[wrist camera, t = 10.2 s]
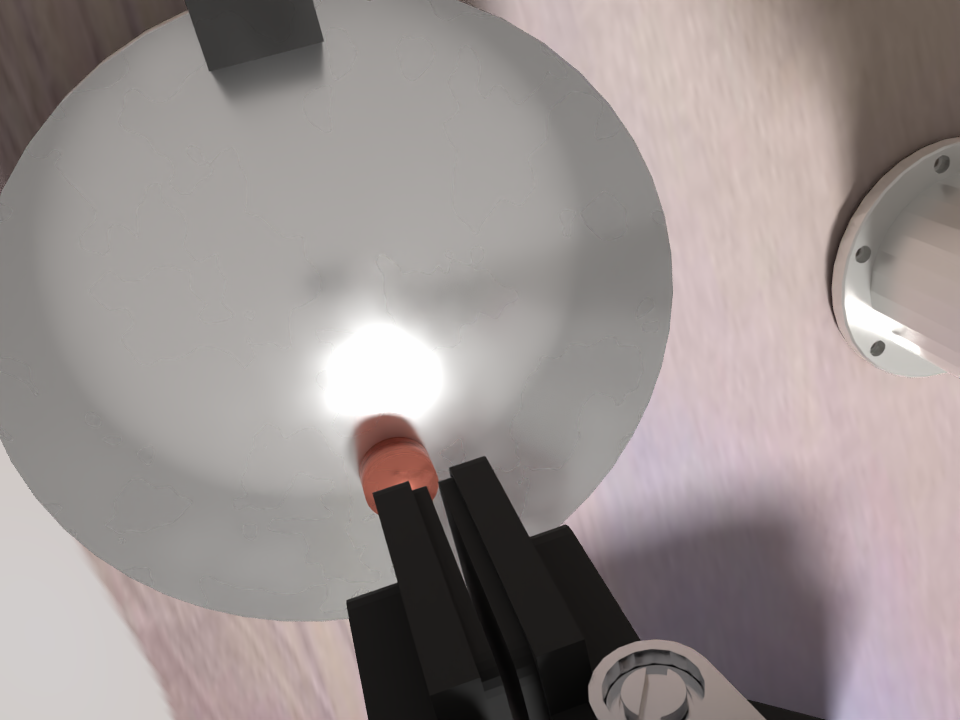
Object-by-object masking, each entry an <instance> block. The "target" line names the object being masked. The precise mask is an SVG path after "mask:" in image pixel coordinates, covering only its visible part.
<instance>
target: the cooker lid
mask: <svg viewBox="0 0 960 720" xmlns="http://www.w3.org/2000/svg"><path fill="white" fill-rule="evenodd" d="M185 3H186V6H187V9H188V10H186V11H184V12H182V13H180V14H178V15H176V16H174V17H172V18H170V19H168V20H166V21H164V22H162V23H160V24H158V25H156V26H154V27H152V28H150V29H148V30H146V31H145V32H143V33H142V34H140V35H139V36H138V37H136V38H135V39H133V40H132V41H130V42H129V43H127V44H126V45H125V46H123V47H122V48H120V49H119V50H117V51H116V52H114V53H113V54H112V55H110V56H109V57H107V58H106V59H104V60H103V61H102V62H101V63H100V64H99V65H98V66H97V67H96V68H95V69H94V70H93V71H91V72H90V73H89V74H88V75H87V76H86V77H85V78H84V79H83V80H82V81H81V82H80V83H79V84H78V85H77V86H76V87H74V88H73V89H72V90H71V91H70V92H69V93H68V94H67V95H66V96H65V97H64V99H63V100H62V101H61V102H60V104H59V105H58V106H57V108H56V109H55V110H54V111H53V113H52V114H51V115H50V116H49V118H48V119H47V120H46V122H45V123H44V124H43V125H42V127H41V128H40V129H39V131H38V132H37V133H36V134H35V136H34V137H33V138H32V140H31V141H30V143H29V144H28V145H27V147H26V149H25V150H24V152H23V154H22V156H21V158H20V159H19V161H18V163H17V165H16V166H15V168H14V170H13V172H12V174H11V175H10V177H9V179H8V181H7V183H6V184H5V186H4V188H3V190H2V192H1V194H0V439H1V441H2V443H3V445H4V447H5V449H6V452H7V454H8V456H9V458H10V460H11V462H12V463H13V465H14V466H15V468H16V469H17V471H18V472H19V474H20V475H21V477H22V478H23V480H24V481H25V483H26V484H27V485H28V487H29V489H30V490H31V492H32V493H33V495H34V496H35V497H36V499H38V501H39V502H40V503H41V504H42V505H43V506H44V507H45V508H46V510H47V511H48V512H49V513H50V514H51V515H52V516H53V517H54V519H56V521H57V522H58V523H59V524H60V525H61V526H62V527H63V528H64V529H65V530H66V531H67V532H68V533H69V534H71V535H72V536H73V537H74V538H75V539H77V540H78V541H79V542H80V543H81V544H83V545H84V546H85V547H86V548H87V549H88V550H90V551H91V552H92V553H93V554H94V555H96V556H97V557H99V558H100V559H102V560H103V561H105V562H107V563H108V564H110V565H111V566H113V567H114V568H116V569H117V570H119V571H121V572H122V573H124V574H125V575H127V576H128V577H130V578H132V579H134V580H136V581H138V582H140V583H142V584H144V585H147V586H149V587H151V588H153V589H155V590H157V591H159V592H161V593H163V594H165V595H168V596H171V597H173V598H176V599H179V600H182V601H185V602H188V603H191V604H194V605H197V606H200V607H203V608H206V609H210V610H215V611H220V612H224V613H229V614H233V615H238V616H242V617H250V618H259V619H268V620H277V621H332V620H342V619H349V617H348V611H347V605H346V600H348V599H351V598H354V597H357V596H360V595H362V594H365V593H368V592H371V591H374V590H377V589H380V588H383V587H386V586H389V585H391V584H394V583H397V578H396V575H395V571H394V568H393V564H392V561H391V557H390V554H389V550H388V547H387V543H386V540H385V536H384V533H383V529H382V526H381V522H380V519H379V515H378V512H377V508H376V505H375V501H374V497H373V494H372V493H373V492H376V491H379V490H382V489H385V488H388V487H391V486H394V485H397V484H400V483H403V482H406V481H409V483H410V485H411V488H412V490H415V489H418V488H421V487H424V486H427V488H428V491H429V493H430V496H431V499H432V501H433V504H434V506H435V509H436V511H437V514H438V516H439V519H440V521H441V524H442V526H443V529H444V532H445V534H446V537H447V539H448V542H449V544H450V547H451V549H452V552H453V554H454V557H455V559H456V562H457V565H458V567H459V570H460V572H461V575H462V577H463V580H464V582H465V579H464V575H463V572H462V568H461V565H460V561H459V558H458V554H457V551H456V547H455V543H454V540H453V536H452V533H451V529H450V526H449V522H448V519H447V515H446V511H445V508H444V504H443V501H442V497H441V494H440V490H439V486H438V482H439V481H442V480H445V479H448V478H451V477H450V473H449V467H452V466H455V465H458V464H461V463H464V462H467V461H470V460H473V459H476V458H479V457H482V456H486V458H487V459H488V461H489V463H490V465H491V467H492V468H493V470H494V472H495V474H496V476H497V478H498V480H499V481H500V483H501V485H502V487H503V489H504V491H505V493H506V494H507V496H508V498H509V500H510V502H511V504H512V505H513V507H514V509H515V511H516V513H517V515H518V517H519V518H520V520H521V522H522V524H523V526H524V528H525V530H526V531H527V533H528V535H529V537H531V536H534V535H536V534H539V533H542V532H545V531H548V530H551V529H554V528H557V527H558V526H560V525H561V524H562V523H563V522H564V521H565V520H566V519H567V518H568V517H569V516H570V515H571V514H572V513H573V512H574V511H575V510H576V509H577V508H578V507H579V506H580V505H581V504H582V503H583V502H584V501H585V500H586V499H587V498H588V497H589V496H590V495H591V494H592V492H593V491H594V490H595V489H596V487H597V486H598V485H599V484H600V482H601V481H602V480H603V478H604V477H605V476H606V475H607V473H608V472H609V471H610V470H611V468H612V467H613V466H614V464H615V463H616V461H617V459H618V458H619V456H620V455H621V453H622V452H623V450H624V448H625V447H626V445H627V444H628V442H629V441H630V439H631V437H632V436H633V434H634V432H635V430H636V428H637V426H638V424H639V422H640V420H641V417H642V415H643V413H644V411H645V409H646V407H647V405H648V403H649V401H650V398H651V395H652V392H653V389H654V386H655V384H656V381H657V378H658V375H659V372H660V369H661V366H662V362H663V357H664V352H665V348H666V343H667V339H668V334H669V329H670V318H671V307H672V296H673V285H672V260H671V250H670V244H669V238H668V233H667V227H666V221H665V216H664V213H663V209H662V206H661V203H660V200H659V197H658V194H657V191H656V188H655V185H654V182H653V179H652V176H651V174H650V172H649V170H648V168H647V166H646V164H645V162H644V160H643V158H642V156H641V154H640V152H639V149H638V147H637V145H636V143H635V141H634V140H633V138H632V137H631V135H630V134H629V132H628V131H627V129H626V128H625V126H624V125H623V123H622V122H621V120H620V119H619V118H618V116H617V115H616V113H615V112H614V110H613V109H612V107H611V106H610V104H609V103H608V102H607V101H606V100H605V99H604V98H603V97H602V96H601V95H600V94H599V93H598V91H597V90H596V89H595V88H594V87H593V86H592V85H591V84H590V83H589V82H588V81H587V79H586V78H585V77H584V76H583V75H582V74H581V73H580V72H579V71H578V70H576V69H575V68H574V67H573V66H571V65H570V64H569V63H568V62H567V61H565V60H564V59H563V58H562V57H560V56H559V55H558V54H557V53H555V52H554V51H553V50H552V49H551V48H549V47H548V46H547V45H546V44H544V43H543V42H541V41H539V40H538V39H536V38H534V37H533V36H531V35H529V34H528V33H526V32H524V31H523V30H521V29H519V28H517V27H516V26H514V25H512V24H511V23H509V22H507V21H506V20H504V19H502V18H499V17H497V16H495V15H492V14H490V13H487V12H485V11H483V10H480V9H478V8H475V7H473V6H470V5H468V4H466V3H463V2H461V1H458V0H185ZM465 585H466V583H465Z"/></svg>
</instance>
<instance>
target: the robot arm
mask: <svg viewBox="0 0 960 720" xmlns="http://www.w3.org/2000/svg"><path fill="white" fill-rule="evenodd" d="M832 300H833V310H834V314H835V317H836V321H837V324H838V328H839V330H840V331H841V333H842V335H843V337H844V339H845V340H846V342H847V344H848V345H849V346H850V347H851V348H852V349H853V350H854V351H855V352H856V353H857V355H858V356H859V357H861V358H862V359H864V360H866V361H867V362H869V363H870V364H872V365H873V366H875V367H876V368H878V369H881V370H883V371H885V372H887V373H889V374H892V375H896V376H902V377H907V378H923V377H932V376H936V375H940V374H944V373H950V374H952V375H954V376H956V377H957V378H959V379H960V137H956V138H950V139H944V140H941V141H939V142H936V143H934V144H931V145H929V146H926V147H924V148H921V149H920V150H918V151H916V152H915V153H913V154H912V155H910V156H908V157H907V158H905V159H903V160H902V161H900V162H899V163H898V164H897V165H896V166H895V167H893V168H892V169H891V170H890V171H889V172H888V173H886V174H885V175H884V176H883V177H882V178H881V179H880V180H879V181H878V182H877V184H876V185H875V186H874V187H873V188H872V189H871V191H870V192H869V193H868V194H867V195H866V196H865V198H864V199H863V201H862V202H861V204H860V205H859V207H858V209H857V210H856V212H855V213H854V215H853V216H852V218H851V220H850V222H849V224H848V226H847V229H846V231H845V233H844V235H843V238H842V240H841V242H840V246H839V249H838V253H837V256H836V260H835V264H834V270H833V279H832ZM449 473H450V477H451V478H448V479H445V480H442V481H439V482H438V486H439V490H440V494H441V497H442V501H443V504H444V508H445V511H446V515H447V519H448V522H449V526H450V529H451V533H452V536H453V540H454V543H455V547H456V551H457V554H458V558H459V561H460V565H461V568H462V572H463V575H464V579H465V582H464V580H463V577H462V575H461V572H460V570H459V567H458V565H457V562H456V559H455V557H454V554H453V552H452V549H451V547H450V544H449V542H448V539H447V537H446V534H445V532H444V529H443V526H442V524H441V521H440V519H439V516H438V514H437V511H436V509H435V506H434V504H433V501H432V499H431V496H430V493H429V491H428V488H427V486H424V487H421V488H418V489H415V490H412V488H411V485H410V483H409V481H406V482H403V483H400V484H397V485H394V486H391V487H388V488H385V489H382V490H379V491H376V492H373V493H372V494H373V497H374V501H375V505H376V508H377V512H378V515H379V519H380V522H381V526H382V529H383V533H384V536H385V540H386V543H387V547H388V550H389V554H390V557H391V561H392V564H393V568H394V571H395V575H396V578H397V583H394V584H391V585H389V586H386V587H383V588H380V589H377V590H374V591H371V592H368V593H365V594H362V595H360V596H357V597H354V598H351V599H348V600H346V605H347V611H348V617H349V622H350V627H351V632H352V637H353V642H354V648H355V653H356V658H357V663H358V668H359V674H360V679H361V684H362V689H363V694H364V699H365V705H366V710H367V715H368V720H824V719H820V718H817V717H813V716H809V715H805V714H801V713H797V712H794V711H790V710H786V709H782V708H778V707H774V706H770V705H767V704H763V703H759V702H755V701H751V700H747V699H746V698H745V697H744V696H743V695H742V694H741V693H740V692H739V691H738V690H737V689H736V688H735V687H734V686H733V685H732V684H731V683H730V682H729V681H728V680H727V679H726V678H725V677H724V676H723V675H722V674H721V673H720V672H719V671H718V670H717V669H716V668H715V667H714V666H713V665H712V664H711V663H710V662H709V661H708V660H707V659H706V658H705V657H704V656H702V655H701V654H700V653H698V652H697V651H696V650H694V649H693V648H691V647H688V646H685V645H683V644H680V643H677V642H675V641H666V640H658V639H653V640H644V641H641V640H640V639H639V637H638V636H637V634H636V632H635V631H634V629H633V628H632V626H631V624H630V623H629V621H628V620H627V618H626V616H625V615H624V613H623V612H622V610H621V608H620V607H619V605H618V604H617V602H616V600H615V599H614V597H613V596H612V594H611V592H610V591H609V589H608V587H607V586H606V584H605V583H604V581H603V579H602V578H601V576H600V575H599V573H598V571H597V570H596V568H595V567H594V565H593V563H592V562H591V560H590V559H589V557H588V555H587V554H586V552H585V551H584V549H583V547H582V546H581V544H580V543H579V541H578V539H577V538H576V536H575V535H574V533H573V532H572V530H571V529H570V527H569V526H567V525H563V526H560V527H557V528H554V529H551V530H548V531H545V532H542V533H539V534H536V535H534V536H531V537H529V535H528V533H527V531H526V530H525V528H524V526H523V524H522V522H521V520H520V518H519V517H518V515H517V513H516V511H515V509H514V507H513V505H512V504H511V502H510V500H509V498H508V496H507V494H506V493H505V491H504V489H503V487H502V485H501V483H500V481H499V480H498V478H497V476H496V474H495V472H494V470H493V468H492V467H491V465H490V463H489V461H488V459H487V458H486V456H482V457H479V458H476V459H473V460H470V461H467V462H464V463H461V464H458V465H455V466H452V467H449ZM465 583H466V585H465ZM466 586H467V587H466Z"/></svg>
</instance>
